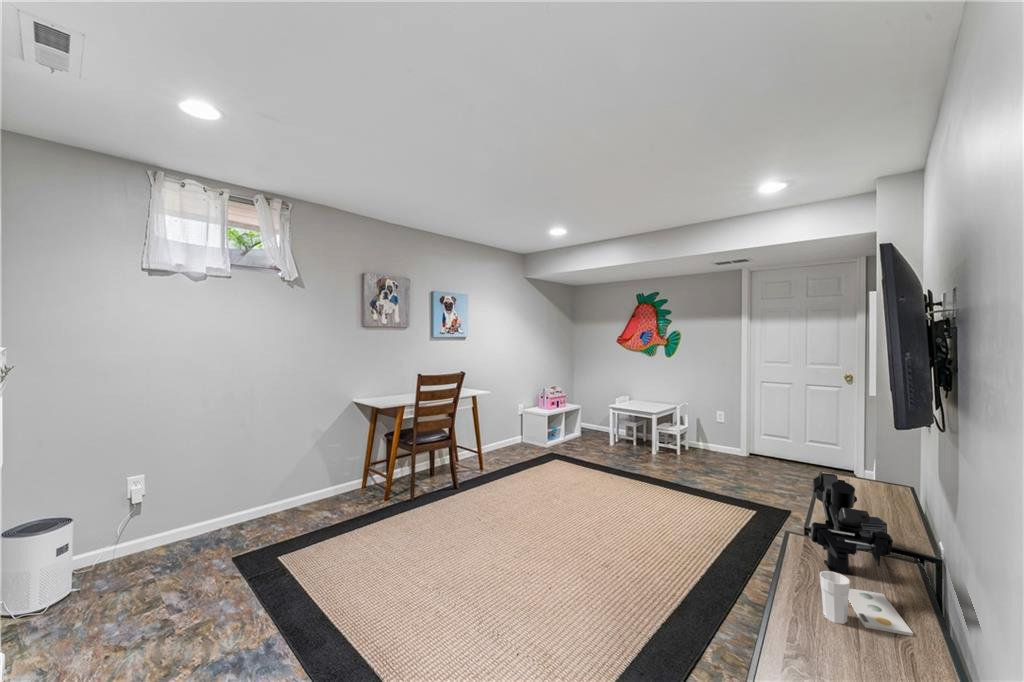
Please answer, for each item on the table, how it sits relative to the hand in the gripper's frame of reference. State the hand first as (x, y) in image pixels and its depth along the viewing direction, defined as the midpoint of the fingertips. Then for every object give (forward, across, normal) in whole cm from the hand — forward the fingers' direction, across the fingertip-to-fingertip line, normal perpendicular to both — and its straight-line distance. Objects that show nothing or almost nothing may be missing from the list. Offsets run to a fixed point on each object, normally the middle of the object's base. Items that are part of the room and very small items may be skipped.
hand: (857, 561), depth 119 cm
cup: (+10, -6, +12) cm, 17 cm away
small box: (-37, +14, +30) cm, 50 cm away
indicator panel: (+3, +4, +14) cm, 15 cm away
